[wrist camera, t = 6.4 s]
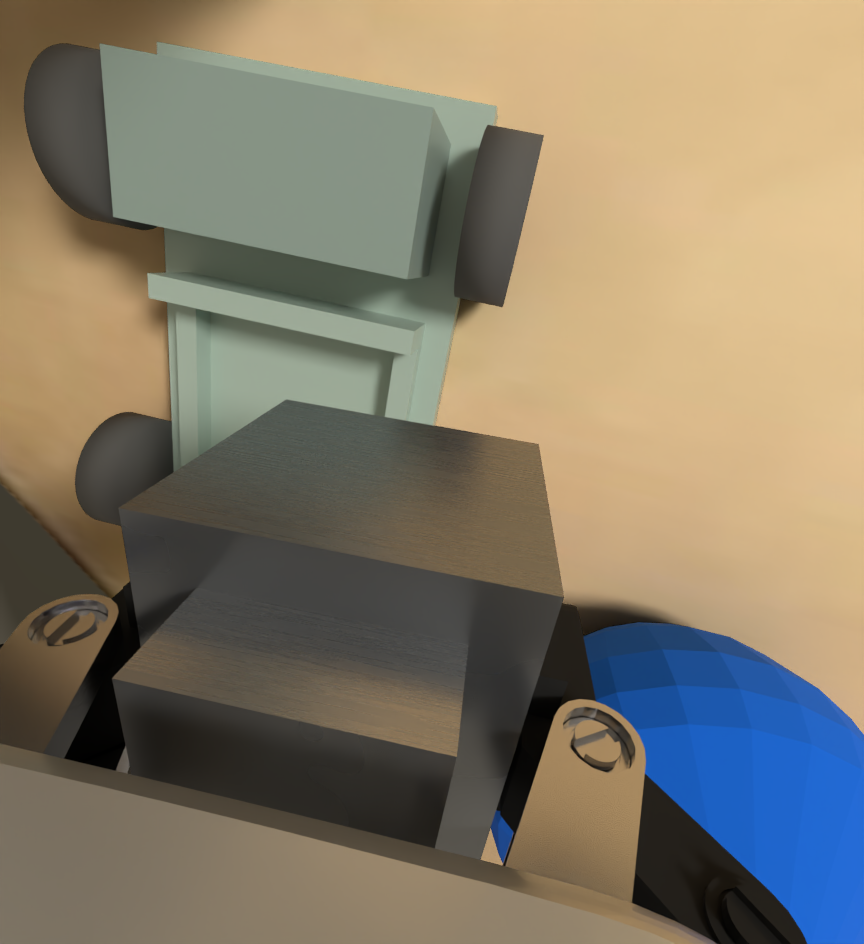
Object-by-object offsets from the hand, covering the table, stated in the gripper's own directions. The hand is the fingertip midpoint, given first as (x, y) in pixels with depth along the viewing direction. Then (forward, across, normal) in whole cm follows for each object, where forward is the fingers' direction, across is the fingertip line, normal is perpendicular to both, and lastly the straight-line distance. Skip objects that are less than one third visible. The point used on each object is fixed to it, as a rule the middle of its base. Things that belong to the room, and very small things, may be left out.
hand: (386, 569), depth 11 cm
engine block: (+1, 0, 0) cm, 1 cm away
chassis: (+15, +8, -1) cm, 17 cm away
